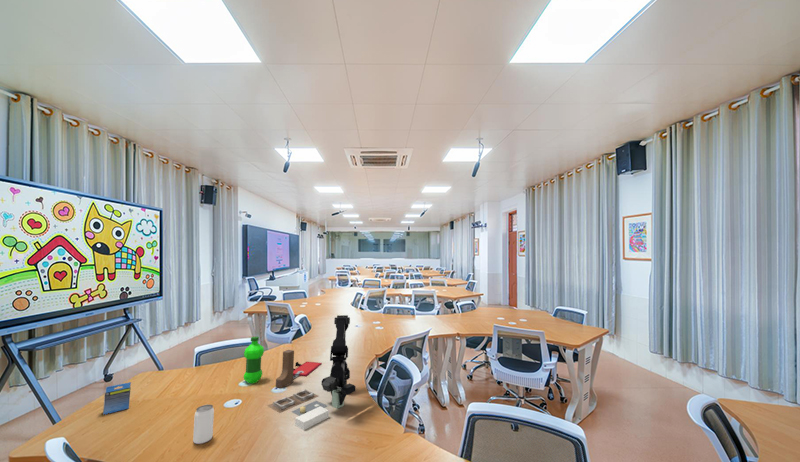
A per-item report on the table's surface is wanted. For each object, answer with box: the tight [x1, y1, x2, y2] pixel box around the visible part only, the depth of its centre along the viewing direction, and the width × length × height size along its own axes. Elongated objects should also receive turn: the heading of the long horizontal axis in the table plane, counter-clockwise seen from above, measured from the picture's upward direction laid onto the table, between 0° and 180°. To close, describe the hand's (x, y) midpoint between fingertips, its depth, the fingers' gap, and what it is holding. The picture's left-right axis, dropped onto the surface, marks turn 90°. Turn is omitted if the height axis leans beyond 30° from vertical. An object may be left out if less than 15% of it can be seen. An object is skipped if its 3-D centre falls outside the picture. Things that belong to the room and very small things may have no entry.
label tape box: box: [102, 381, 132, 415], centre depth 144 cm, size 9×4×12 cm, turn 135°
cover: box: [294, 406, 330, 431], centre depth 134 cm, size 13×6×4 cm, turn 142°
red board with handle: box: [293, 361, 322, 380], centre depth 194 cm, size 30×3×15 cm
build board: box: [267, 389, 319, 414], centre depth 152 cm, size 22×11×2 cm, turn 142°
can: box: [192, 404, 215, 445], centre depth 122 cm, size 6×6×12 cm
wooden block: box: [275, 349, 295, 389], centre depth 174 cm, size 9×4×18 cm, turn 157°
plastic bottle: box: [243, 336, 265, 385], centre depth 178 cm, size 10×10×25 cm
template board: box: [291, 400, 328, 417], centre depth 144 cm, size 14×9×3 cm, turn 142°
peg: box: [331, 388, 345, 410], centre depth 148 cm, size 4×4×8 cm
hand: (337, 403), depth 147 cm, fingers closed on peg, 4 cm apart
